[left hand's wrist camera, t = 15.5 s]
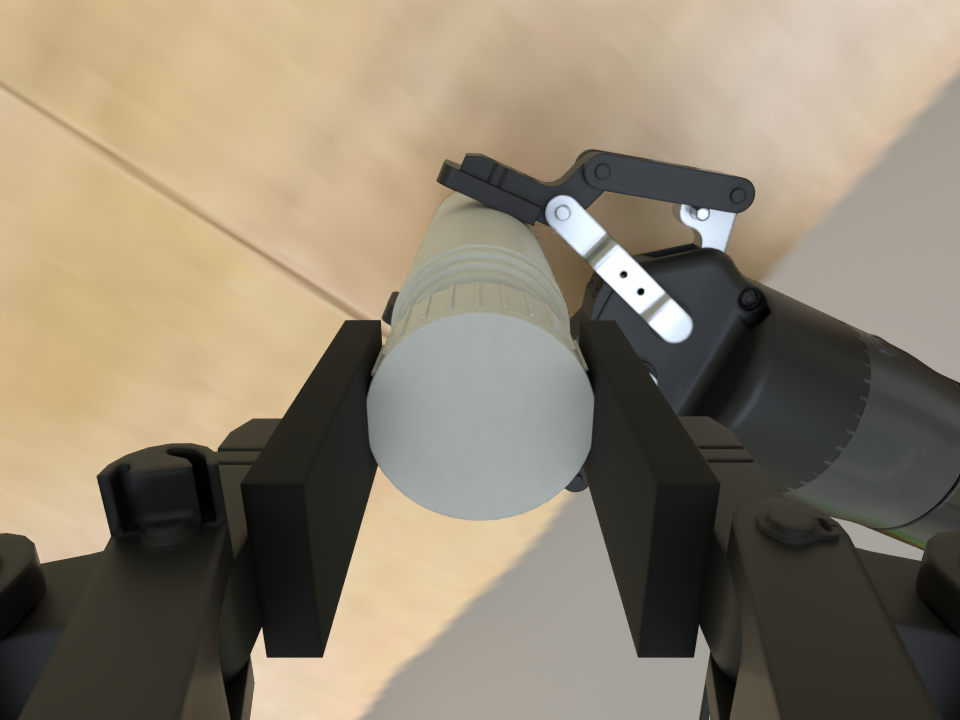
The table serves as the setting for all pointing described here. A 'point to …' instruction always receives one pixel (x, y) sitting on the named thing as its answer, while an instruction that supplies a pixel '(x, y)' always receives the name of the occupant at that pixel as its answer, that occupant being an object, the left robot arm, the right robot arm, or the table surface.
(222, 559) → the left robot arm
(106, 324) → the table surface
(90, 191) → the table surface
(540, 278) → the bottle
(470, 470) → the cap
